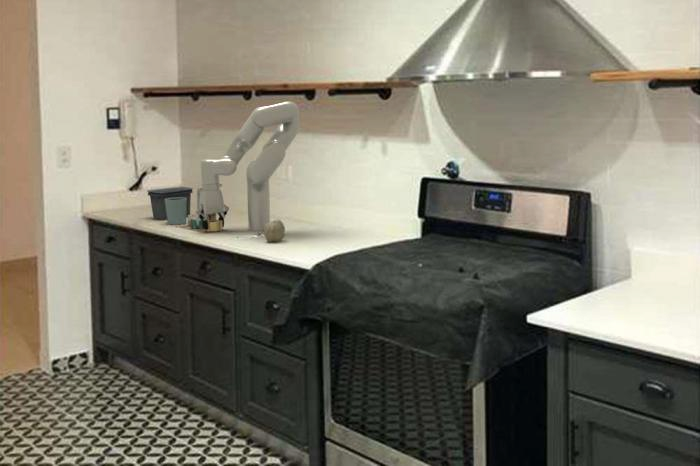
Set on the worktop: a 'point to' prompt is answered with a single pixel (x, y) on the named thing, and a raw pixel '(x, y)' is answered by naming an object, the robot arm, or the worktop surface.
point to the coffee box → (209, 217)
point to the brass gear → (214, 225)
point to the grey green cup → (176, 210)
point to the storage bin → (162, 194)
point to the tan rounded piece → (274, 231)
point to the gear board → (195, 225)
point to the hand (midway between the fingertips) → (213, 227)
